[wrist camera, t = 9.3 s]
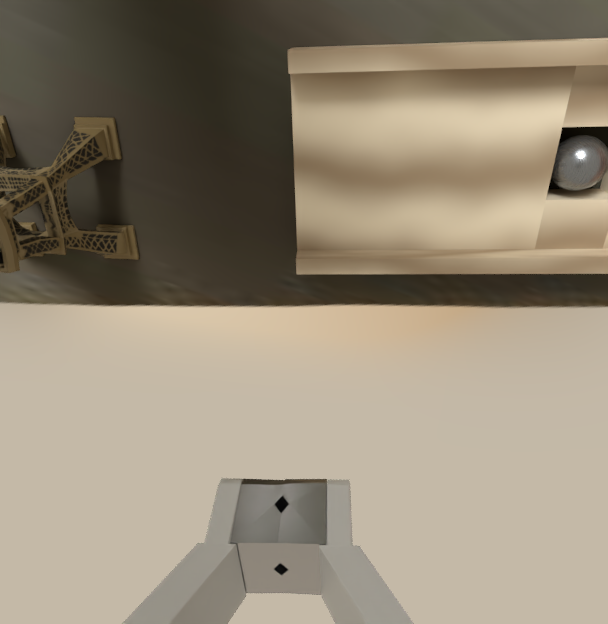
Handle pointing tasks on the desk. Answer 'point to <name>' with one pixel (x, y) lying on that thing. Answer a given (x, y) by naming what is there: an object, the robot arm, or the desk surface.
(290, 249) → the desk surface
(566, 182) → the steel ball
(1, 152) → the eiffel tower
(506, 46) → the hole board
